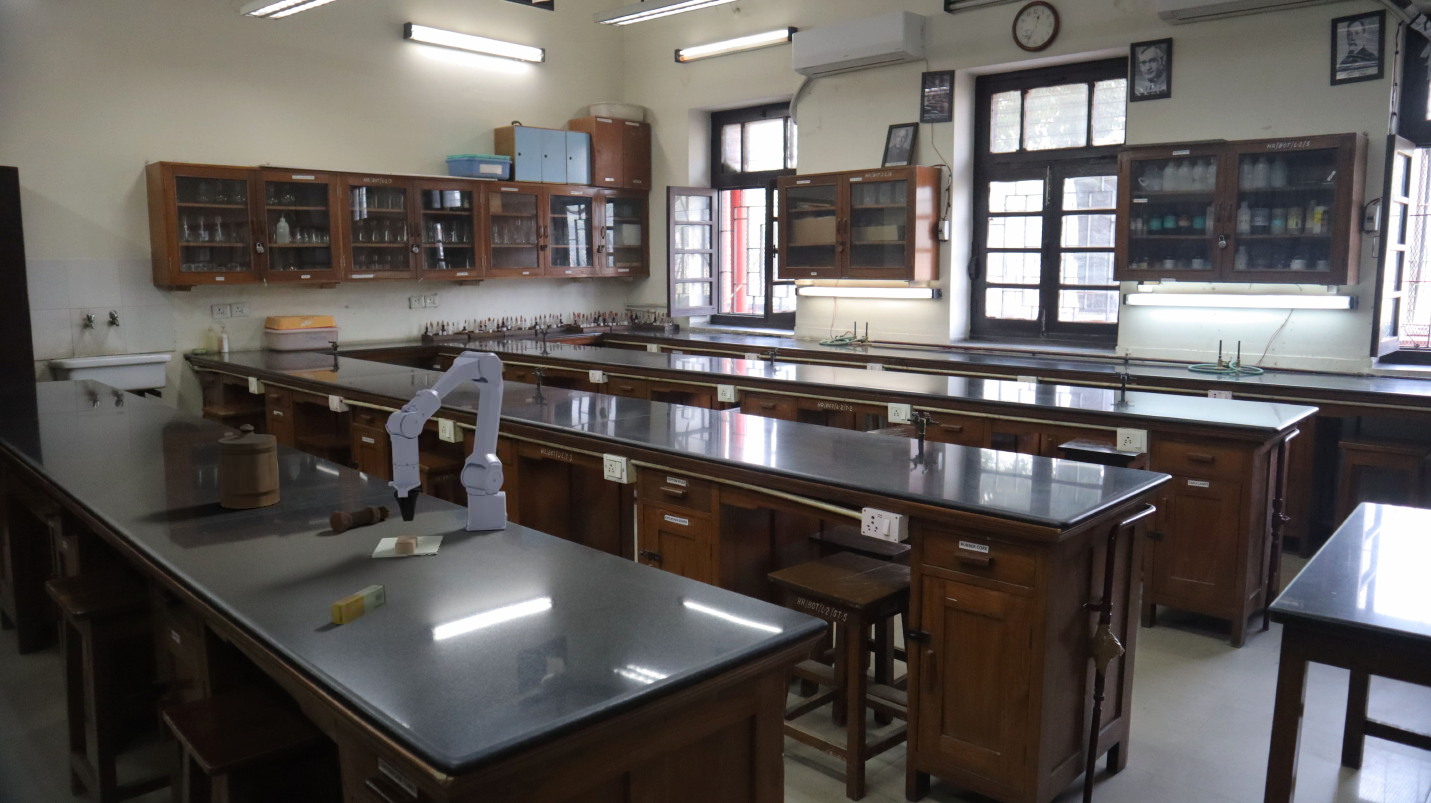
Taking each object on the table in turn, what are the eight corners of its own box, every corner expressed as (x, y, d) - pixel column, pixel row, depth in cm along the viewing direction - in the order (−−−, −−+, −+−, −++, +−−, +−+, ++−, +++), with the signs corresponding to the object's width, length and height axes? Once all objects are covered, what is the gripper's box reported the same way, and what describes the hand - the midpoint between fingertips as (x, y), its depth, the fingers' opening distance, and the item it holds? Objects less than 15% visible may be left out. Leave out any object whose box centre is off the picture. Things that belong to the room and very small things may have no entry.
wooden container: (290, 497, 274) (286, 420, 271) (261, 510, 259) (256, 429, 256) (241, 496, 276) (236, 419, 273) (209, 508, 261) (203, 428, 258)
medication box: (375, 603, 188) (374, 583, 188) (387, 604, 187) (385, 584, 187) (331, 624, 177) (330, 603, 177) (343, 625, 176) (342, 604, 176)
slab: (417, 534, 225) (413, 542, 218) (417, 545, 225) (413, 553, 218) (399, 535, 224) (394, 543, 217) (399, 545, 224) (395, 554, 218)
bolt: (388, 526, 251) (338, 537, 238) (377, 514, 253) (327, 525, 240) (395, 508, 249) (345, 519, 236) (384, 497, 251) (333, 506, 238)
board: (442, 537, 233) (442, 535, 233) (436, 554, 219) (436, 552, 219) (382, 540, 231) (382, 538, 231) (372, 557, 217) (371, 555, 217)
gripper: (392, 457, 230) (395, 513, 232) (382, 470, 216) (385, 529, 217) (423, 456, 231) (425, 512, 233) (415, 469, 217) (418, 527, 219)
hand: (408, 520), depth 225 cm, fingers closed
